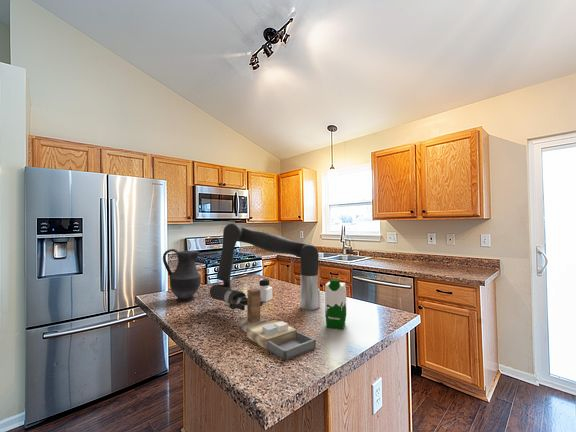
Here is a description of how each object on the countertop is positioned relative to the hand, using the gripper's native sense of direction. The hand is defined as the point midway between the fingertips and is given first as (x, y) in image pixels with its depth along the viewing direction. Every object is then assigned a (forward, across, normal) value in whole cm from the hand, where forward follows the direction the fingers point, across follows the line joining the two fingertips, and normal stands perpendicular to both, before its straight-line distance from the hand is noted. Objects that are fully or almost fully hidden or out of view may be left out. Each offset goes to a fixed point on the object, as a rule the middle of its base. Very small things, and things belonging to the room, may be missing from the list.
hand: (252, 306), depth 115 cm
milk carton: (+21, +29, +9) cm, 37 cm away
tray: (+26, 0, +9) cm, 28 cm away
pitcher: (-62, -10, +9) cm, 63 cm away
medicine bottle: (-32, +27, +9) cm, 43 cm away
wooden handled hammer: (+1, 0, +9) cm, 9 cm away
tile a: (+16, +3, +6) cm, 17 cm away
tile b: (+16, -2, +6) cm, 17 cm away
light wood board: (+14, 0, +9) cm, 17 cm away
